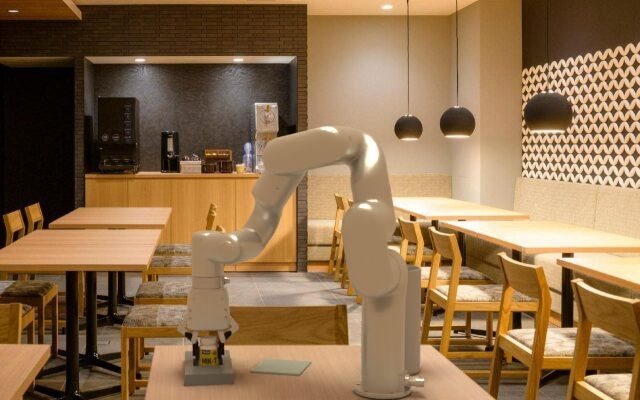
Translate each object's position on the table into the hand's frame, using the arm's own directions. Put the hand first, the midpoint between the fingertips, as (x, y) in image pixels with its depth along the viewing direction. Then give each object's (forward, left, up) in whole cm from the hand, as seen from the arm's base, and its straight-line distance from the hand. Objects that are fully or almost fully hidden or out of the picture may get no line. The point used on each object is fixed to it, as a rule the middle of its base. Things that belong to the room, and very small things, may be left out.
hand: (208, 357), depth 202 cm
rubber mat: (-16, -8, -3) cm, 18 cm away
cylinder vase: (-43, -12, -4) cm, 45 cm away
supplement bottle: (0, 0, -4) cm, 4 cm away
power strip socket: (0, 0, -3) cm, 3 cm away
